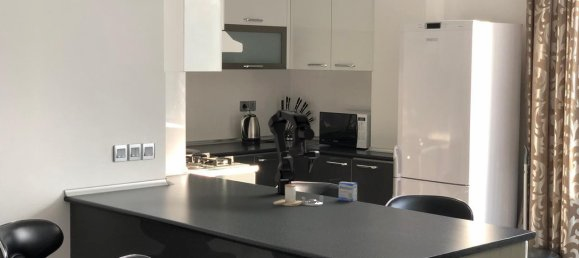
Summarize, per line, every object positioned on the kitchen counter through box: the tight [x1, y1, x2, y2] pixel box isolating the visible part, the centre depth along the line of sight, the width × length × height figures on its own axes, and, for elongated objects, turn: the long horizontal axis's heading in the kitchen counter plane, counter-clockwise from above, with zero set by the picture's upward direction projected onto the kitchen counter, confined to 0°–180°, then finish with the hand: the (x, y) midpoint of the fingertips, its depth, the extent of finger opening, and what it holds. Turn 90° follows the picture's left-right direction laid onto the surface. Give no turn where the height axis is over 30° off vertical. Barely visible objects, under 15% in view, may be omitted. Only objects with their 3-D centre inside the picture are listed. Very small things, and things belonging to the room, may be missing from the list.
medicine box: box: [338, 181, 358, 202], centre depth 385 cm, size 8×4×9 cm, turn 62°
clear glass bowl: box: [301, 195, 324, 207], centre depth 374 cm, size 10×10×4 cm
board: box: [273, 198, 302, 207], centre depth 375 cm, size 11×9×1 cm
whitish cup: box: [284, 183, 297, 203], centre depth 373 cm, size 5×5×8 cm
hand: (300, 172), depth 388 cm, fingers open, 9 cm apart
